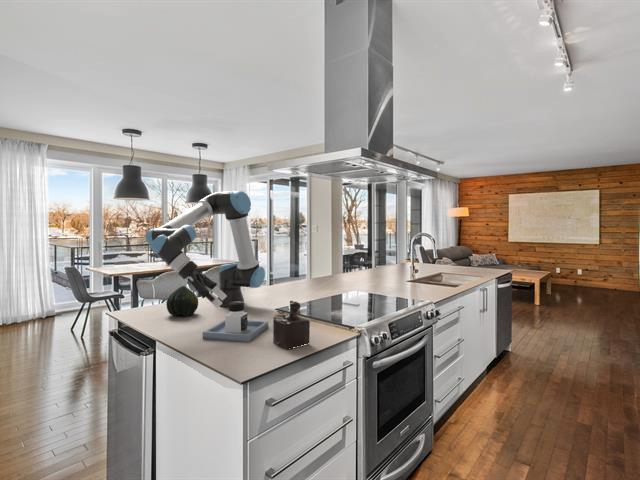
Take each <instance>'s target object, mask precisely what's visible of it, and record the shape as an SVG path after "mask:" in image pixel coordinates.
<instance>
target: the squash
mask: <svg viewBox="0 0 640 480" xmlns="http://www.w3.org/2000/svg"><path fill="white" fill-rule="evenodd" d="M165 305H166V309H167V312H168V313H169V314H170V316H173V317H174V316H175V317H177V316H179V315H180V316H181V315H182V316H183V317H185V318H186V317H188V316H191V315H194V313H196V310H198V307H199V299H198V297H197V295H196V293H194V292H193V291H192V290H191V289H189V288H188V287H187V286H185V285H182V286H179V287H178V288H176V289H175V290H173V292H172V293H171V294H170V295H169V296H168V298H167V300H166V304H165Z"/></svg>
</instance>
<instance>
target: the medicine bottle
mask: <svg viewBox="0 0 640 480" xmlns="http://www.w3.org/2000/svg"><path fill="white" fill-rule="evenodd" d="M244 305H245V302H244V303H242V302H231V303H230V304H229V307H228V314H226V315H224V320H225V332H226V333H242V332H244V331H245V330H246V329H248V321H249V320H248V318H249V317H248V312H247V311H246V312H245V306H244Z"/></svg>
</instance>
